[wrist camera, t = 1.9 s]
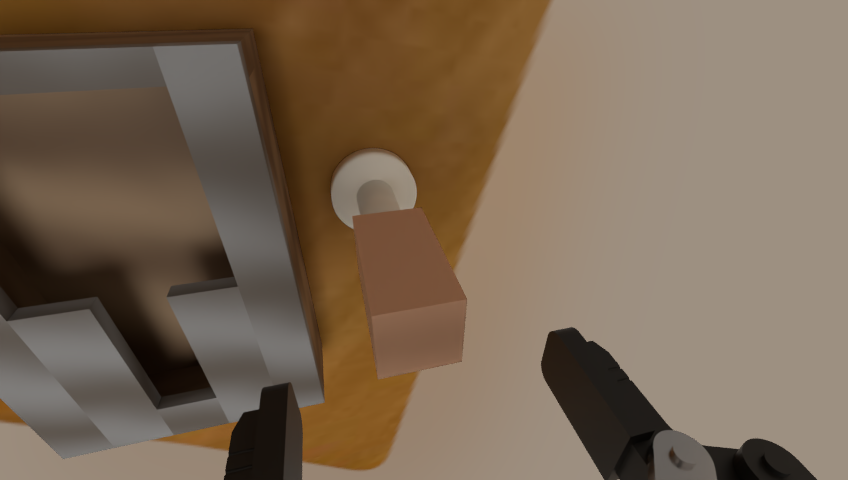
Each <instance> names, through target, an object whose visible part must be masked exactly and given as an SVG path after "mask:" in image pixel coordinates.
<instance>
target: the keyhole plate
mask: <svg viewBox="0 0 848 480" xmlns="http://www.w3.org/2000/svg"><path fill="white" fill-rule="evenodd" d="M288 382H291V384H292V387H293V390H294V393H295V397H296V400H297V403H298V407H299V408H301V407H306V406H310V405H315V404H319V403H324V379H323V355H322V343H321V338H320V334H319V329H318V325H317V320H316V316H315V311H314V306H313V302H312V297H311V293H310V288H309V284H308V279H307V274H306V270H305V265H304V261H303V256H302V252H301V247H300V243H299V238H298V233H297V229H296V224H295V220H294V215H293V211H292V206H291V201H290V197H289V192H288V188H287V183H286V179H285V174H284V170H283V165H282V160H281V156H280V151H279V147H278V142H277V138H276V133H275V128H274V124H273V119H272V115H271V110H270V106H269V101H268V96H267V92H266V87H265V83H264V78H263V74H262V69H261V65H260V60H259V55H258V51H257V46H256V42H255V37H254V33H253V29H218V30H178V31H138V32H97V33H57V34H17V35H0V398H1V399H2V400H3V401H4V402H5V403H6V404H7V405H8V406H9V407H10V408H11V409H12V410H13V411H14V412H15V413H16V414H17V415H18V416H19V417H20V418H21V419H22V420H23V421H24V422H25V423H26V424H27V425H29V426H30V427H31V428H32V429H33V430H34V431H35V432H36V433H37V434H38V435H39V436H40V437H41V438H42V439H43V440H44V441H45V442H46V443H47V444H48V445H49V446H50V447H51V448H52V449H53V450H54V451H55V452H56V453H57V454H59V455H60V456H61V457H62V458H63V459H65V458H69V457H74V456H79V455H83V454H88V453H93V452H98V451H102V450H107V449H111V448H116V447H120V446H125V445H130V444H134V443H139V442H143V441H148V440H153V439H158V438H162V437H167V436H172V435H176V434H181V433H185V432H190V431H195V430H199V429H204V428H209V427H213V426H218V425H222V424H227V423H232V422H236V421H239V419H240V417H241V416H242V414H243V412H248V411H253V410H257V409H259V405H260V396H261V391H262V388H263V387H268V386H273V385H278V384H283V383H288Z"/></svg>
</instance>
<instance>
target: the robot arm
mask: <svg viewBox="0 0 848 480" xmlns="http://www.w3.org/2000/svg"><path fill="white" fill-rule="evenodd" d="M541 368H542V373H543V376H544V378H545V381H546V382H547V384H548V386H549V388H550V389H551V391H552V393H553V394H554V396H555V397H556V399H557V401H558V403H559V404H560V406H561V408H562V409H563V411H564V413H565V414H566V416H567V418H568V420H569V421H570V423H571V425H572V426H573V428H574V430H575V431H576V433H577V434H578V436H579V438H580V440H581V441H582V443H583V445H584V446H585V448H586V450H587V451H588V453H589V455H590V456H591V458H592V460H593V461H594V463H595V465H596V467H597V468H598V470H599V472H600V473H601V475H602V476H603V478H604V480H617V479H620V480H817V479H816V478H815V477H814V476H813V475H812V474H811V473H810V472H809V471H808V470H807V469H806V468H805V467H804V466H803V465H802V463H800V461H799V460H797V459H796V458H795V457H794V456H793V455H792V454H791V453H790V452H788V451H786V450H785V449H784V448H782V447H780V446H779V445H777V444H775V443H773V442H770V441H767V440H763V439H750V440H747V441H746V442H745V443H744V444H743V445H742V446H741V448H740V449H731V448H721V447H711V446H703V445H701V444H700V443H698V442H697V441H696V440H695V439H693V438H691V437H690V436H688V435H686V434H684V433H681V432H678V431H673V430H672V429H671V428H670V427H669V426H668V425H667V424H666V422H665V421H664V420H663V419H662V417H661V416H660V415H659V414H658V413H657V411H656V410H655V409H654V408H653V406H652V405H651V404H650V403H649V402H648V400H647V399H646V398H645V397H644V395H643V394H642V393H641V392H640V391H639V389H638V388H637V387H636V386H635V384H634V383H633V382H632V381H630V380H629V377H628V376H627V374H626V373H625V372H624V371H623V370H622V369H620V367H619V365H618V363H617V362H616V361H615V360H614V358H613V357H612V356H611V355H610V353H609V352H607V351H606V350H605V349H603V348H602V347H600V346H599V345H598V344H596V343H595V342H593V341H589V342H586V340H585V339H584V338H583V337H582V335H581V334H580V333H579V331H578V330H576V329H575V328H572V327H571V328H566V329H561V330H556V331H551V332H550V333H549V334H548V338H547V341H546V345H545V350H544V353H543V357H542V361H541ZM302 440H303V432H302V420H301V414H300V410H299V407H298V403H297V400H296V397H295V393H294V390H293V387H292V384H291V382H288V383H283V384H278V385H273V386H268V387H263V388H262V391H261V396H260V405H259V409H257V410H253V411H248V412H243V414H242V416H241V417H240V419H239V421H238V423H237V424H236V426H235V428H234V430H233V431H232V435H231V441H230V447H229V457H228V459H227V464H226V470H225V471H226V475H225V476H224V480H302Z"/></svg>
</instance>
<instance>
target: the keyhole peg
mask: <svg viewBox="0 0 848 480" xmlns="http://www.w3.org/2000/svg"><path fill="white" fill-rule="evenodd" d="M330 188H331V198H332V204H333V208H334V210H335V212H336V214H337V216H338V217H339V218H340V220H341V221H342V222H343V223H344V224H346V225H347V226H349V227H350V228H352V229H354V236H355V244H356V253H357V261H358V269H359V276H360V281H361V287H362V292H363V298H364V304H365V309H366V315H367V320H368V326H369V332H370V337H371V343H372V348H373V354H374V359H375V365H376V371H377V376H378V379H382V378H387V377H391V376H396V375H401V374H406V373H410V372H415V371H420V370H424V369H429V368H434V367H439V366H443V365H448V364H453V363H457V362H462V351H463V341H464V329H465V318H466V306H467V298H466V296H465V294H464V292H463V290H462V288H461V286H460V284H459V282H458V280H457V278H456V276H455V274H454V272H453V270H452V268H451V266H450V264H449V262H448V260H447V258H446V256H445V254H444V252H443V250H442V248H441V246H440V244H439V242H438V240H437V238H436V236H435V234H434V232H433V230H432V228H431V226H430V224H429V222H428V220H427V218H426V216H425V214H424V212H423V210H422V208H413V207H414V205H415V202H416V197H417V188H416V183H415V180H414V178H413V176H412V174H411V172H410V170H409V168H408V167H407V165H406V164H405V162H404V161H403V160H402V159H401V158H400V157H399V156H397V155H396V154H394V153H392V152H390V151H388V150H385V149H380V148H366V149H361V150H358V151H356V152H353V153H351V154H350V155H348V156H347V157H345V158H344V159H343V160H342V161H341V162H340V163H339V164H338V166H337V167H336V169H335V171H334V173H333V175H332V179H331V186H330Z"/></svg>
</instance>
